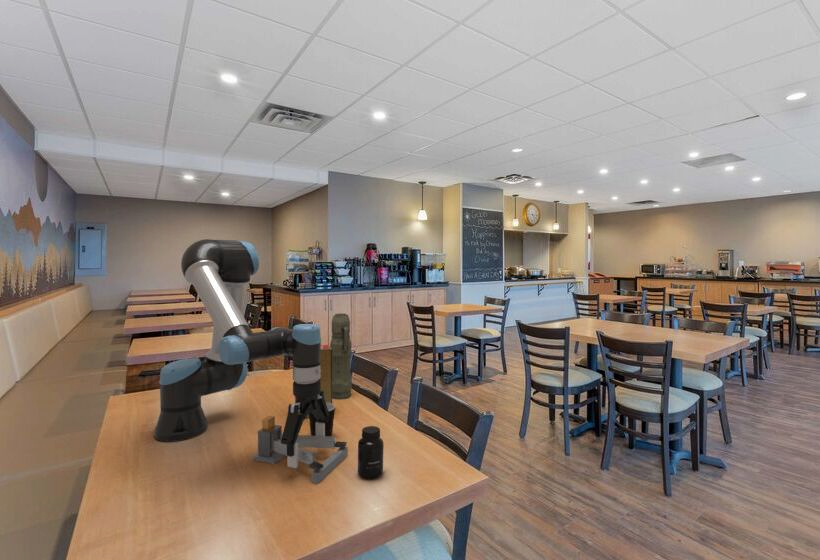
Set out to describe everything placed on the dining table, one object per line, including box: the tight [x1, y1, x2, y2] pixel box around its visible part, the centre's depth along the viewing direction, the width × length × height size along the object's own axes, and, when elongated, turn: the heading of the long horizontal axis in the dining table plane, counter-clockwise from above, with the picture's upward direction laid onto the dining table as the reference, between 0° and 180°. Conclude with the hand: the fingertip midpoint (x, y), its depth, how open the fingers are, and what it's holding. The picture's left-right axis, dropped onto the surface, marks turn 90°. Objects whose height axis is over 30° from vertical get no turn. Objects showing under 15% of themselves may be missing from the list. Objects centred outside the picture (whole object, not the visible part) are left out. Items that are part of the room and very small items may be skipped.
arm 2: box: [280, 433, 348, 450], centre depth 114 cm, size 19×2×3 cm, turn 85°
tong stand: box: [252, 434, 349, 485], centre depth 111 cm, size 24×16×7 cm, turn 71°
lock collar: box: [257, 415, 283, 457], centre depth 114 cm, size 4×5×10 cm
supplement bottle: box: [357, 425, 385, 480], centre depth 105 cm, size 7×7×12 cm
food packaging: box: [294, 344, 333, 419], centre depth 147 cm, size 13×9×25 cm
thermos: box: [329, 313, 352, 400], centre depth 167 cm, size 9×12×35 cm
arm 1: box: [273, 439, 323, 471], centre depth 106 cm, size 19×2×3 cm, turn 57°
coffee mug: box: [308, 403, 336, 436], centre depth 128 cm, size 12×9×10 cm
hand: (307, 455), depth 110 cm, fingers open, 13 cm apart
